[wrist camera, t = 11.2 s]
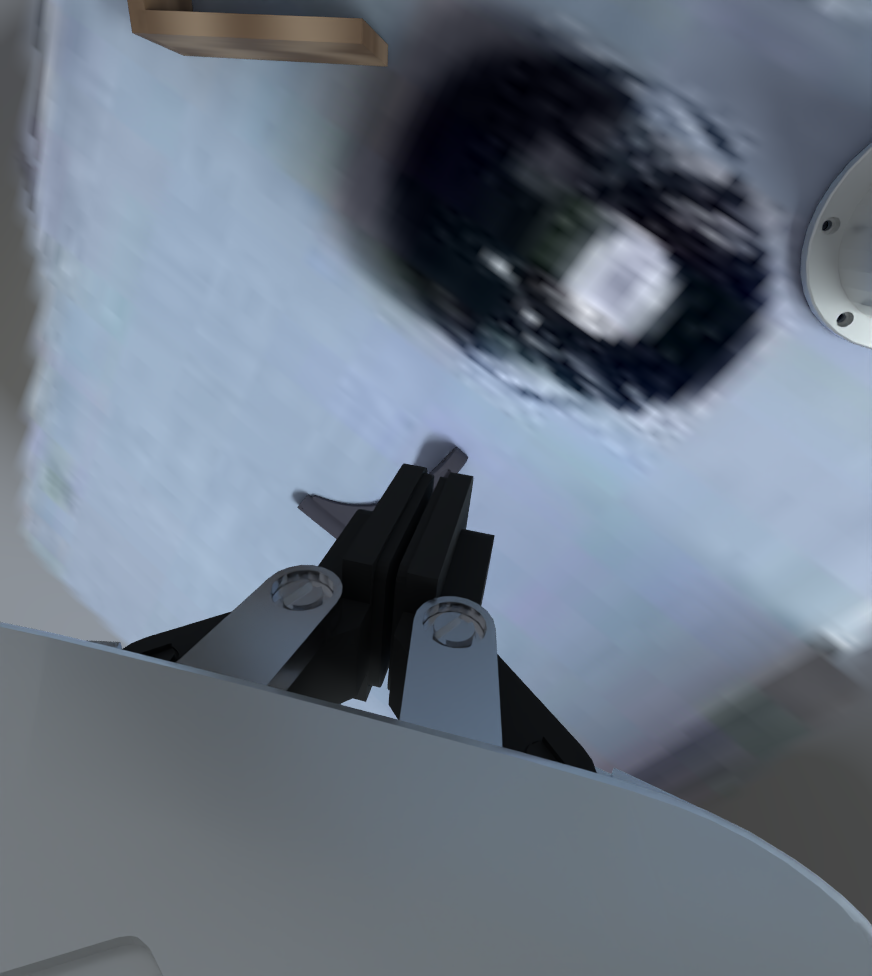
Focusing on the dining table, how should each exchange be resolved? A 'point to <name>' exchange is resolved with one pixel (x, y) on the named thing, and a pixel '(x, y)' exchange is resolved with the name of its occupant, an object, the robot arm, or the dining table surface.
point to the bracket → (339, 514)
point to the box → (257, 35)
